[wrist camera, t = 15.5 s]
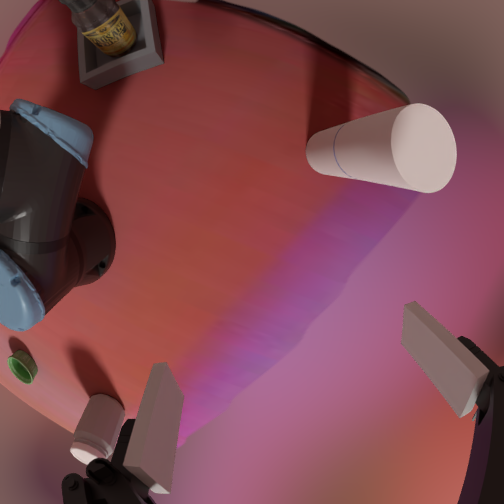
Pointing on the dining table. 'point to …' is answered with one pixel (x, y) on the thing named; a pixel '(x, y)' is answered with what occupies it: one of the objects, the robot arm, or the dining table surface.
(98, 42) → the sauce bottle
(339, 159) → the cylindrical container
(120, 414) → the jar
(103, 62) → the grey open box
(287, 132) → the dining table surface
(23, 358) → the ramekin
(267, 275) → the dining table surface
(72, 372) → the dining table surface
